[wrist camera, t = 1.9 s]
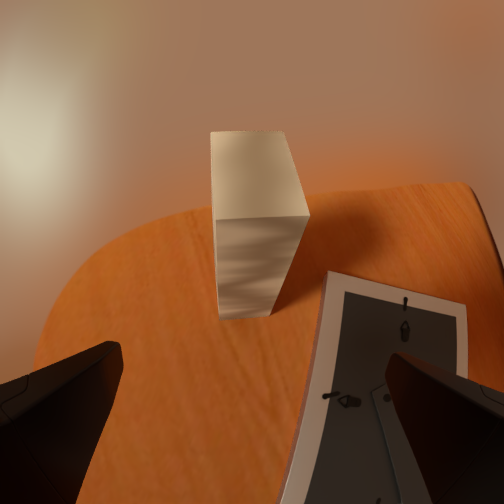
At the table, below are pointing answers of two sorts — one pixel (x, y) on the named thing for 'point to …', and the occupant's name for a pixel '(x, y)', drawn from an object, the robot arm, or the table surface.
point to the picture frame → (366, 393)
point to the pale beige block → (253, 219)
